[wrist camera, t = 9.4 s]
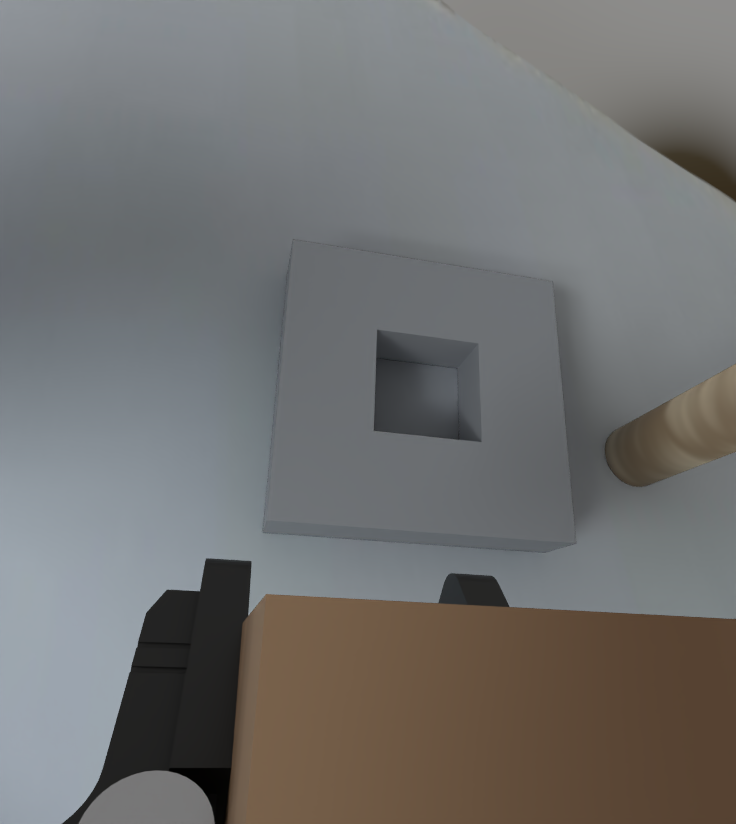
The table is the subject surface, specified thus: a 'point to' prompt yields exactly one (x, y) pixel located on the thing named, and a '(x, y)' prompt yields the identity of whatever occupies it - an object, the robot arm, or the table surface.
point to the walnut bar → (481, 715)
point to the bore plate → (412, 454)
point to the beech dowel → (677, 433)
